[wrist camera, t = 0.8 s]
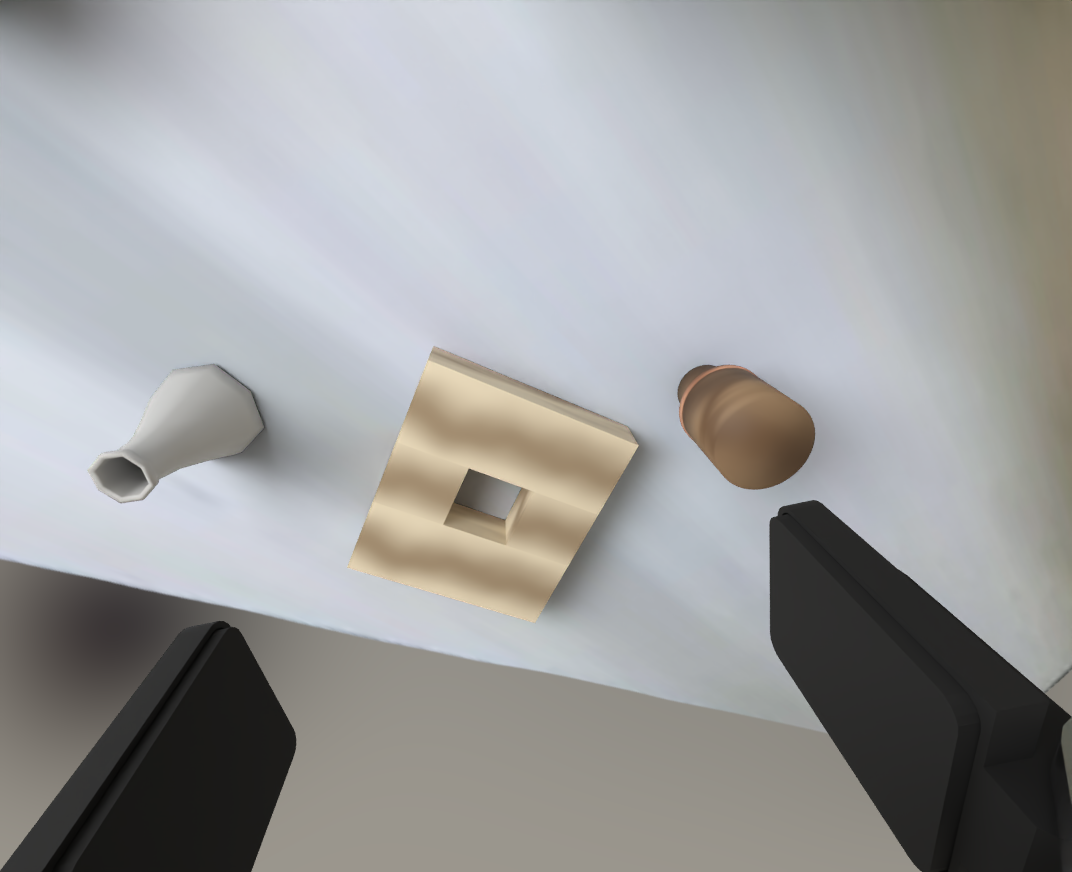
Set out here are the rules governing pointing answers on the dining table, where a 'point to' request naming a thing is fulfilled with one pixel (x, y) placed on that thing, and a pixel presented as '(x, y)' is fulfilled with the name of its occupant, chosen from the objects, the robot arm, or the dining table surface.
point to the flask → (180, 432)
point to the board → (501, 452)
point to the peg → (744, 425)
